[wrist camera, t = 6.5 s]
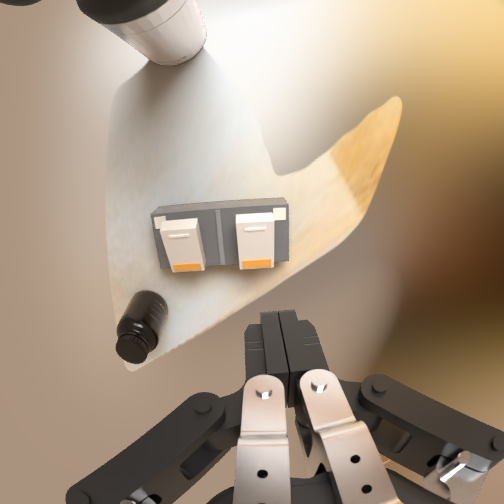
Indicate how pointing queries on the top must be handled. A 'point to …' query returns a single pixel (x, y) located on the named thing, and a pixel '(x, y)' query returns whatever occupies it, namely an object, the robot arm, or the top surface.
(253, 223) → the rocker
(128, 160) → the top surface
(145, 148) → the top surface
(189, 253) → the block
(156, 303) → the supplement bottle
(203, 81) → the top surface
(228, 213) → the switch panel
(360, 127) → the top surface
